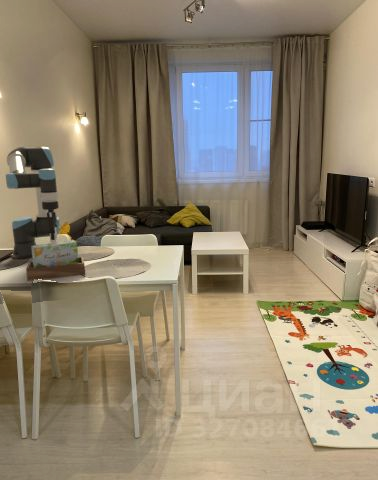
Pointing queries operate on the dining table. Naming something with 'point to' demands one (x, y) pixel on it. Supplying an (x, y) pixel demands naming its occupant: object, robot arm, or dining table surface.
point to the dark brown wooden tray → (55, 270)
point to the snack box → (55, 254)
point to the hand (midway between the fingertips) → (54, 242)
